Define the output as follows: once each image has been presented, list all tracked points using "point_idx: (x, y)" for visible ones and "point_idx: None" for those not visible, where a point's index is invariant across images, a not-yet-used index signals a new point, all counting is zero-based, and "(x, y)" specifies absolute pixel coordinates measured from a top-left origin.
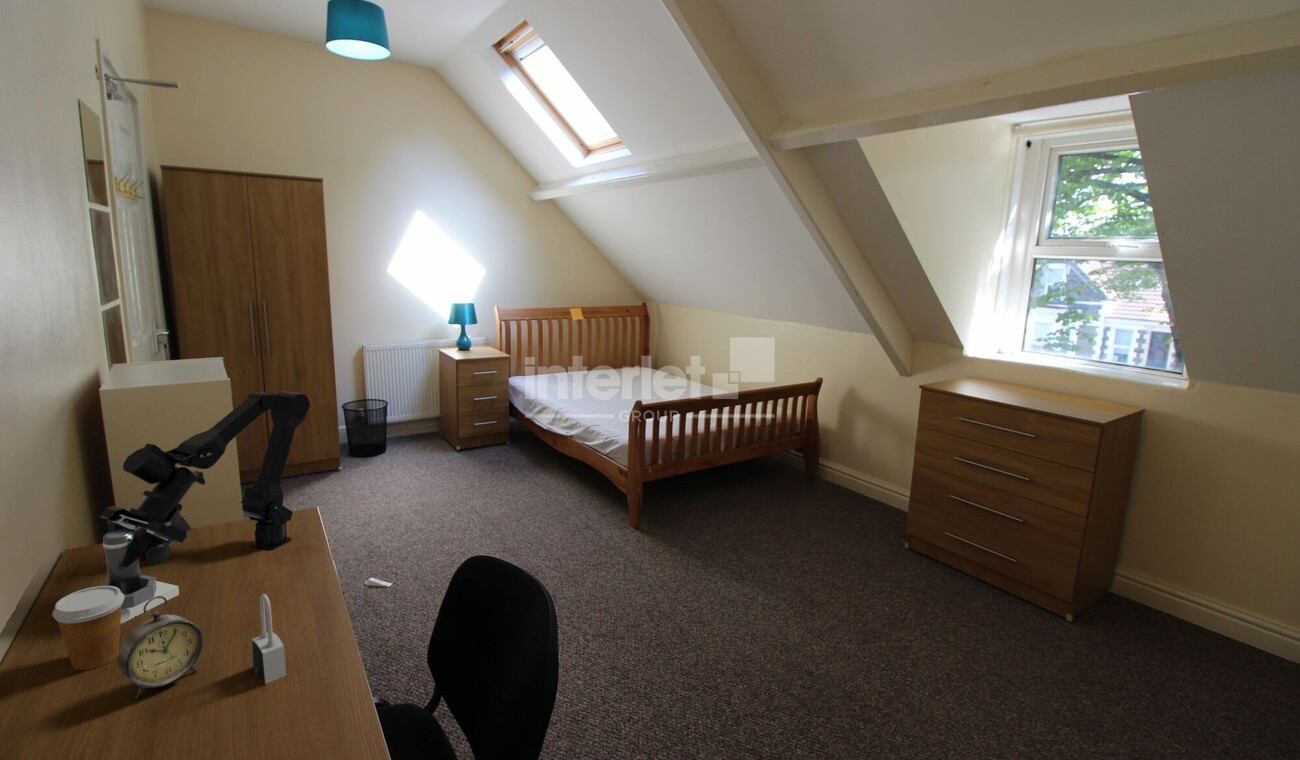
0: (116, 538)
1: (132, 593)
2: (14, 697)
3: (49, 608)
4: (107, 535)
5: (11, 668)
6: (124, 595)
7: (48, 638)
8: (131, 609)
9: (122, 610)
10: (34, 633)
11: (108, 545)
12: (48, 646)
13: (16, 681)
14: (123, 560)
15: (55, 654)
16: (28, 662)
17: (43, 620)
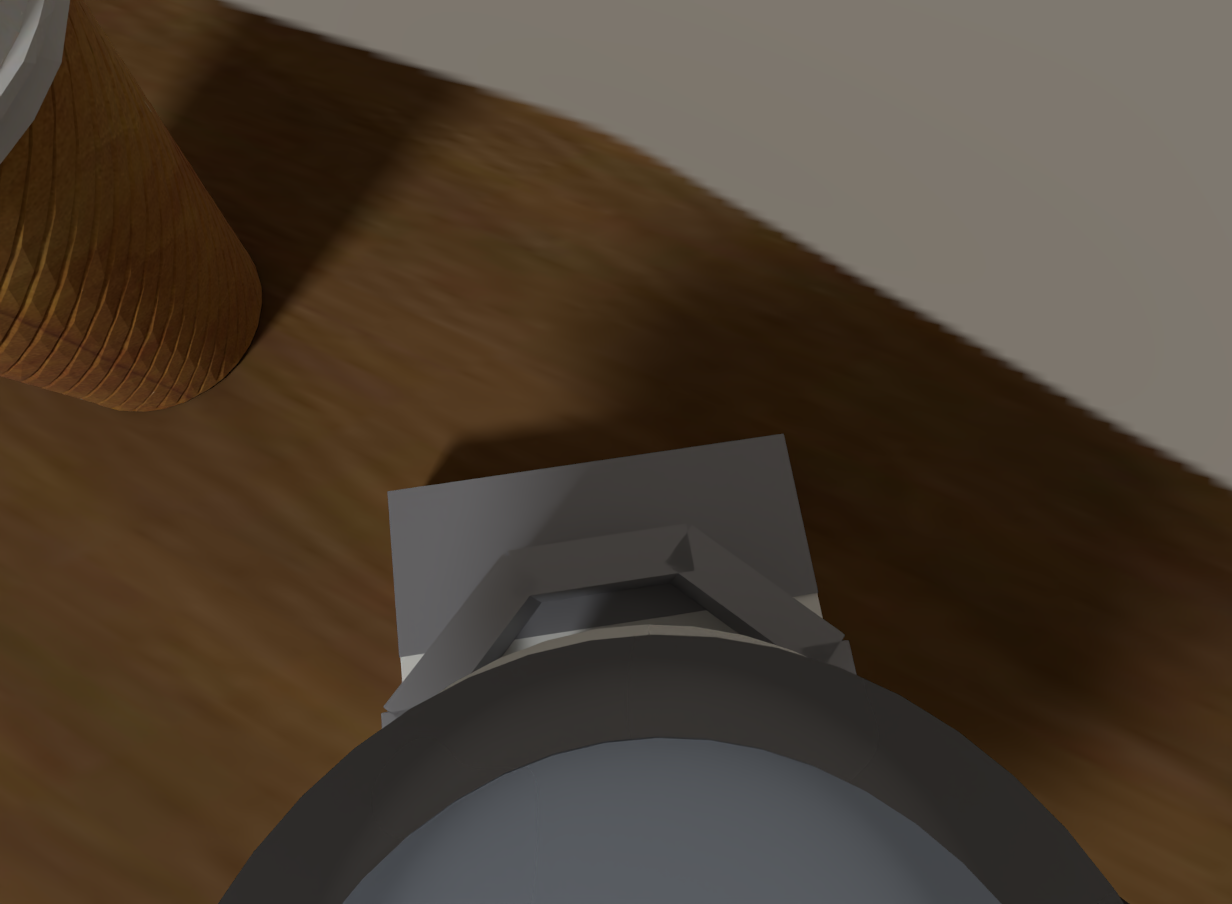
0: (313, 876)
1: None
2: (206, 6)
3: (1068, 468)
4: (862, 838)
5: (482, 91)
6: (454, 674)
7: (641, 295)
8: (404, 674)
9: (436, 624)
10: (776, 285)
11: (524, 652)
12: (544, 257)
13: (335, 57)
14: None
15: (419, 238)
16: (465, 146)
17: (911, 377)
